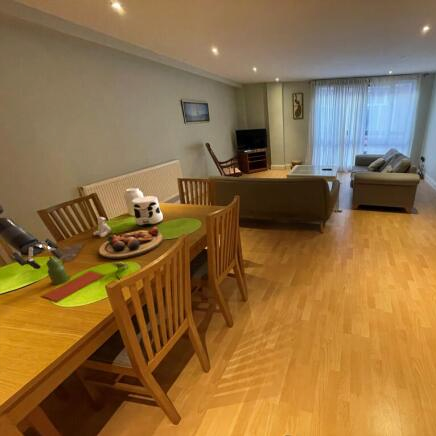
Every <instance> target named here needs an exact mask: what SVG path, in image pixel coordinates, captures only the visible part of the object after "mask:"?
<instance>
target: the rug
mask: <svg viewBox="0 0 436 436" xmlns="http://www.w3.org/2000/svg"><path fill="white" fill-rule="evenodd" d="M83 245H84V243H81V244H77V243H76V244H73V245H70V246H68V245H67V246H63V247H62V248H61V249H59V251H58V252H59V253H60V254H61V258H60V259H58V258H56V257H55V256H54V257H53V258H52V259H57V260H58V261H59V263H60V262H64V261H71V260H74V257H76V256H77V254H78V253H79V252H80V250H81V248H82V247H83ZM67 250H68V251H67Z"/></svg>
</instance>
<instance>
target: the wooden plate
mask: <svg viewBox="0 0 436 436" xmlns="http://www.w3.org/2000/svg"><path fill="white" fill-rule="evenodd" d="M162 242H163V234H161V233H160V232H159V229H158V227H156V226H154V227H151V228H150V229H149V230H136V231H131V232H128V233H122V234H119V235H116V234H110V235H107V239H106V241H105V242H103V244H101V246H100V247H99V248H98V254H99V256H100V257H103V258H104V259H108V260H120V259H128V258H132V257H137V256H140V255H143V254H146V253H148V252H150V251H152V250H153V249H155V248H157V247H159V245H160V244H161V243H162Z"/></svg>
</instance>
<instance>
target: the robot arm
mask: <svg viewBox="0 0 436 436" xmlns="http://www.w3.org/2000/svg"><path fill="white" fill-rule="evenodd" d="M4 211H5V209H4V207H3V205H2V204H0V215H1V214H3V213H4ZM0 238H1V240H3V241H4V242H5V243H7V245H9V246H11V247H12V249H14V250H16V252H15V251H14V252H12V254H11V258H12V259H13V260H14V261H15V262H17V264H18V265H20V266H21V267H23V266H27V265H29V266H30V267H31V268H33V269H34V270H39V269H41V267H42V266H41V264H39V263H38V262H36V261H35V260H33V257H36V256H38V255H40V254H43V253H45V254H47V253H49V254H52V255H53V257H54V258H55V257H56V258H55V259H58V260H59V259H60V258H61V259H62V254H61V252H59V251H58V249H59V247H60V246H59V245H58V244H56V243H55V242H54V241H53V240H51V239H49V238H46V239H45V240H44V241H43V240H42V241H40V240H39V239H37V238H36V236H34V235H33V234H31V233H30V232H29V231H27V230H26V229H25V228H23V227H22V226H20V225H19V224H18V223H16V222H15V221H14V220H12V219H11V218H9V217H6V216H5V217H4V216H3V217H0ZM17 251H18V252H17ZM23 256H26V259H25V258H23ZM61 259H60V260H61Z"/></svg>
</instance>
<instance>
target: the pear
mask: <svg viewBox="0 0 436 436" xmlns="http://www.w3.org/2000/svg"><path fill="white" fill-rule="evenodd" d="M48 258H49V259H48V260H47V261H46V266H47V274H48V276H49V279H50V281H51V283H52V285H56V286H57V285H61V284H63V283H64V284H65V282H66V283H67V281H68V280H69V279H70V278H69V275H68V272H67V270H66V268H65V266H63V265H62V264H61V263H60V261H59V259H58V258H55V259H53V258H52V256H49V257H48ZM57 259H58V260H57Z"/></svg>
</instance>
